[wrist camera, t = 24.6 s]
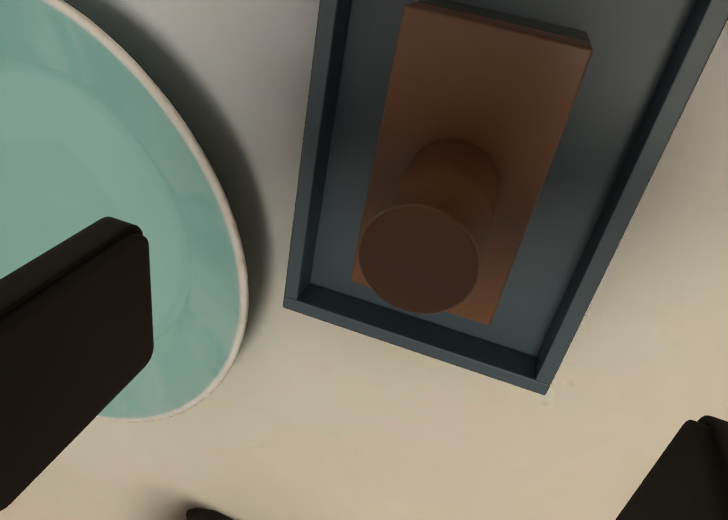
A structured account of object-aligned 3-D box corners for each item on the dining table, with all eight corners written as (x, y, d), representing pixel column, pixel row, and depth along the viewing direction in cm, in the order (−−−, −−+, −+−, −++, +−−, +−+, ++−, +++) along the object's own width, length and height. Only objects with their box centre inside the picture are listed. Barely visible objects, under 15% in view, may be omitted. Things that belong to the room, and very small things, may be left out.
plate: (-28, 353, 36) (-69, 382, 33) (-201, -39, 25) (-280, -38, 23) (292, 424, 30) (269, 465, 28) (245, -45, 19) (201, -44, 17)
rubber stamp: (429, -5, 18) (343, 26, 11) (587, 32, 17) (609, 92, 10) (376, 238, 22) (292, 371, 15) (498, 275, 22) (469, 435, 14)
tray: (356, -114, 17) (334, -121, 16) (732, -39, 16) (755, -37, 14) (301, 282, 25) (281, 307, 24) (546, 363, 24) (545, 396, 22)
